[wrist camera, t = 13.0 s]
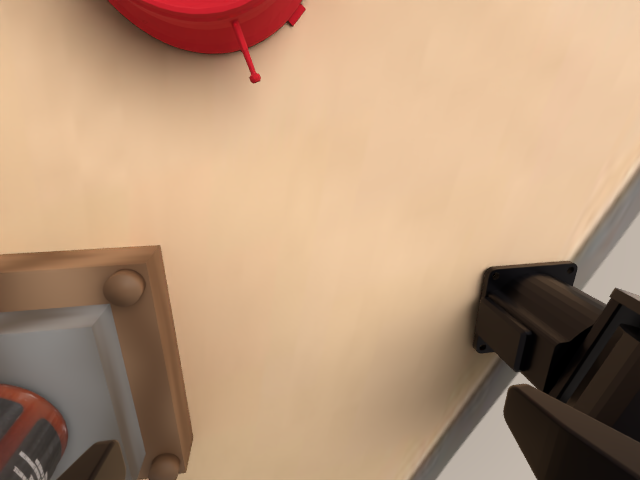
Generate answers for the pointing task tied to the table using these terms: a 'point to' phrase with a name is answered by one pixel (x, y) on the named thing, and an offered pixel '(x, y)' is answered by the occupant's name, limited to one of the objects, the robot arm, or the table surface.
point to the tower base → (136, 330)
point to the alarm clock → (211, 22)
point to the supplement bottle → (29, 435)
